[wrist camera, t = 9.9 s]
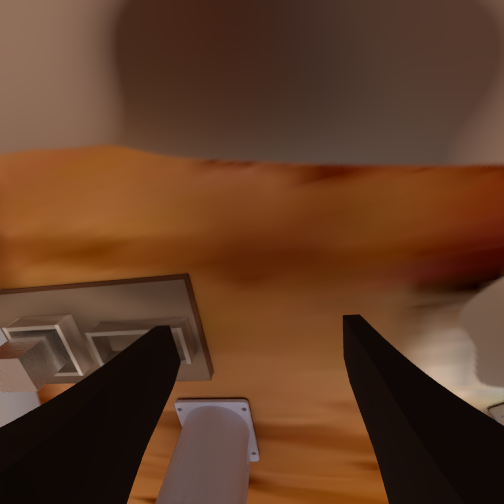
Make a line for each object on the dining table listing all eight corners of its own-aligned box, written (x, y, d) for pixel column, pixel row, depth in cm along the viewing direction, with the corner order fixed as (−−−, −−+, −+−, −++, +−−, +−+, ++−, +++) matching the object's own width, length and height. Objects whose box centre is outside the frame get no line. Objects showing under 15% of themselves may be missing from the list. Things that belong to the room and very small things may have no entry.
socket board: (213, 372, 26) (206, 394, 23) (41, 376, 29) (20, 396, 26) (188, 273, 22) (177, 288, 19) (-8, 290, 25) (-38, 305, 22)
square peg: (77, 351, 25) (38, 391, 21) (47, 353, 26) (2, 392, 22) (63, 322, 24) (17, 358, 20) (31, 324, 24) (-20, 360, 20)
